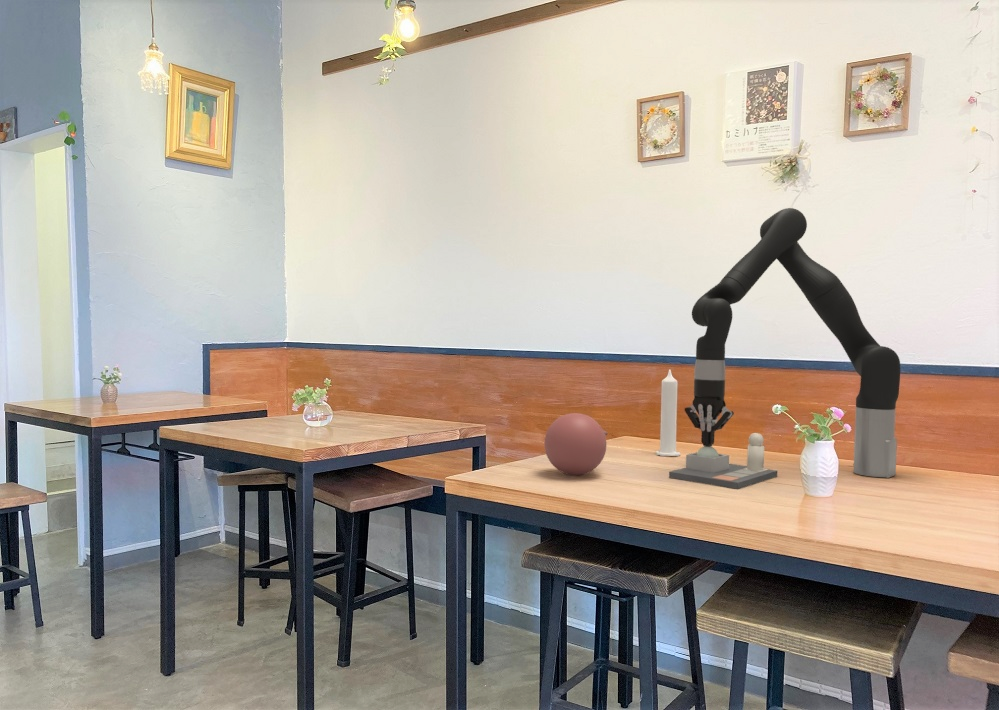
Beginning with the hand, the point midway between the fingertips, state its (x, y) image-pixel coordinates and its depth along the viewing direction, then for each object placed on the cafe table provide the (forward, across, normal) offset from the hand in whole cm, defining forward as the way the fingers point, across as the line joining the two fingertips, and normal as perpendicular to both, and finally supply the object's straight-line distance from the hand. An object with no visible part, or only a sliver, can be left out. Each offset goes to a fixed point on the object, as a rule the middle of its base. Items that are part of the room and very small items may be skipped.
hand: (707, 445), depth 192 cm
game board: (+7, -5, 0) cm, 9 cm away
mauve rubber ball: (+8, +22, +23) cm, 33 cm away
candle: (+8, +22, -19) cm, 30 cm away
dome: (+5, 0, 0) cm, 5 cm away
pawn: (+6, -9, -8) cm, 13 cm away
